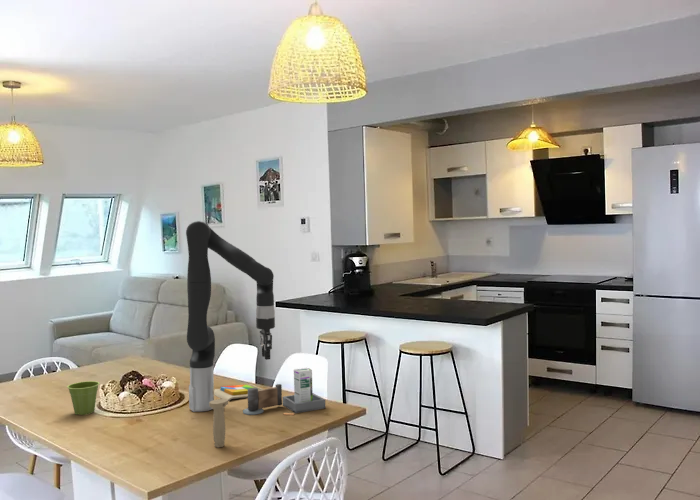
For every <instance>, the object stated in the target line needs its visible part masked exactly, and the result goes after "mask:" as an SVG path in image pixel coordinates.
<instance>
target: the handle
mask: <svg viewBox="0 0 700 500" xmlns="http://www.w3.org/2000/svg"><path fill="white" fill-rule="evenodd" d="M227 405H229V401H228V400H227V399H221V398H218V399H217V398H216V399H214V400H213V401H210V402H209V406H210V407H211V408H213V409H212V410H213V420H212V421H213V425H212V427H213V428H212V436H213V442H214V443H213V445H214V448H223V447H224V446H225V441H226V421H225V420H226V419H225V407H227Z"/></svg>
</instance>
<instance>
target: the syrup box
mask: <svg viewBox="0 0 700 500" xmlns="http://www.w3.org/2000/svg"><path fill="white" fill-rule="evenodd" d="M293 386H294V387H293V391H294V393H293V395H294V399H295V403H303V402H309V401H313V393H314V392H313V370H312V369H311V368H310V367H302V368H301V367H299V368H294V369H293Z"/></svg>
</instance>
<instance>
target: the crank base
mask: <svg viewBox="0 0 700 500" xmlns="http://www.w3.org/2000/svg"><path fill="white" fill-rule="evenodd" d="M263 413H264V408H261V409H258V410H256V411H249V410H248V407H247V408H245V409H243V410H242V414H244V415H246V416H254V415H255V416H256V415H260V414H263ZM283 415H286V416H295V413H294V412H292V413H291V412H283Z"/></svg>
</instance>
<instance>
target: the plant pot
mask: <svg viewBox="0 0 700 500" xmlns="http://www.w3.org/2000/svg"><path fill="white" fill-rule="evenodd" d="M100 384H101V383H100V382H99V381H96V380H95V381H94V380H87V381H79V382H75V383H70V384H69V385H66V388H67V389H68V392H69V394H70V398H71V402H72V403H71V404H72V406H73V412H74V414H75V415H80V416H85V415H90V414H92V413H94V412H95V409H96V401H97V394H98V390H99V389H98V388H99V385H100Z"/></svg>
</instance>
